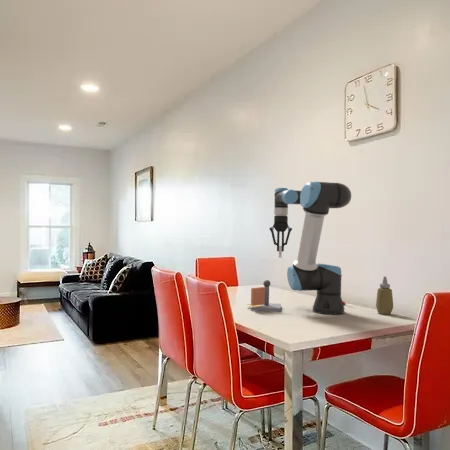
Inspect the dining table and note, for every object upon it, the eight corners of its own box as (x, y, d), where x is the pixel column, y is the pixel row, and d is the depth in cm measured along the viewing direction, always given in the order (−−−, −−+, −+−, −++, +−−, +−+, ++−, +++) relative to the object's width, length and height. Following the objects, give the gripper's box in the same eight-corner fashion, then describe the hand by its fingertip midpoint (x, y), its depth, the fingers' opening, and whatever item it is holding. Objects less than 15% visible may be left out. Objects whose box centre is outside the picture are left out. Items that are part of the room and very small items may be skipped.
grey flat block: (280, 306, 222) (280, 303, 222) (280, 311, 208) (280, 308, 208) (247, 305, 225) (247, 301, 225) (245, 310, 211) (245, 306, 211)
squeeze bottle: (380, 311, 214) (380, 275, 215) (396, 313, 209) (396, 276, 209) (372, 313, 209) (373, 276, 209) (388, 315, 203) (389, 277, 203)
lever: (266, 304, 219) (266, 279, 219) (271, 305, 216) (272, 280, 216) (249, 306, 210) (249, 281, 211) (254, 307, 208) (255, 281, 208)
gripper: (292, 215, 244) (291, 257, 244) (269, 215, 246) (268, 256, 245) (292, 215, 236) (292, 258, 236) (269, 215, 238) (268, 257, 238)
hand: (280, 257), depth 241 cm, fingers closed
